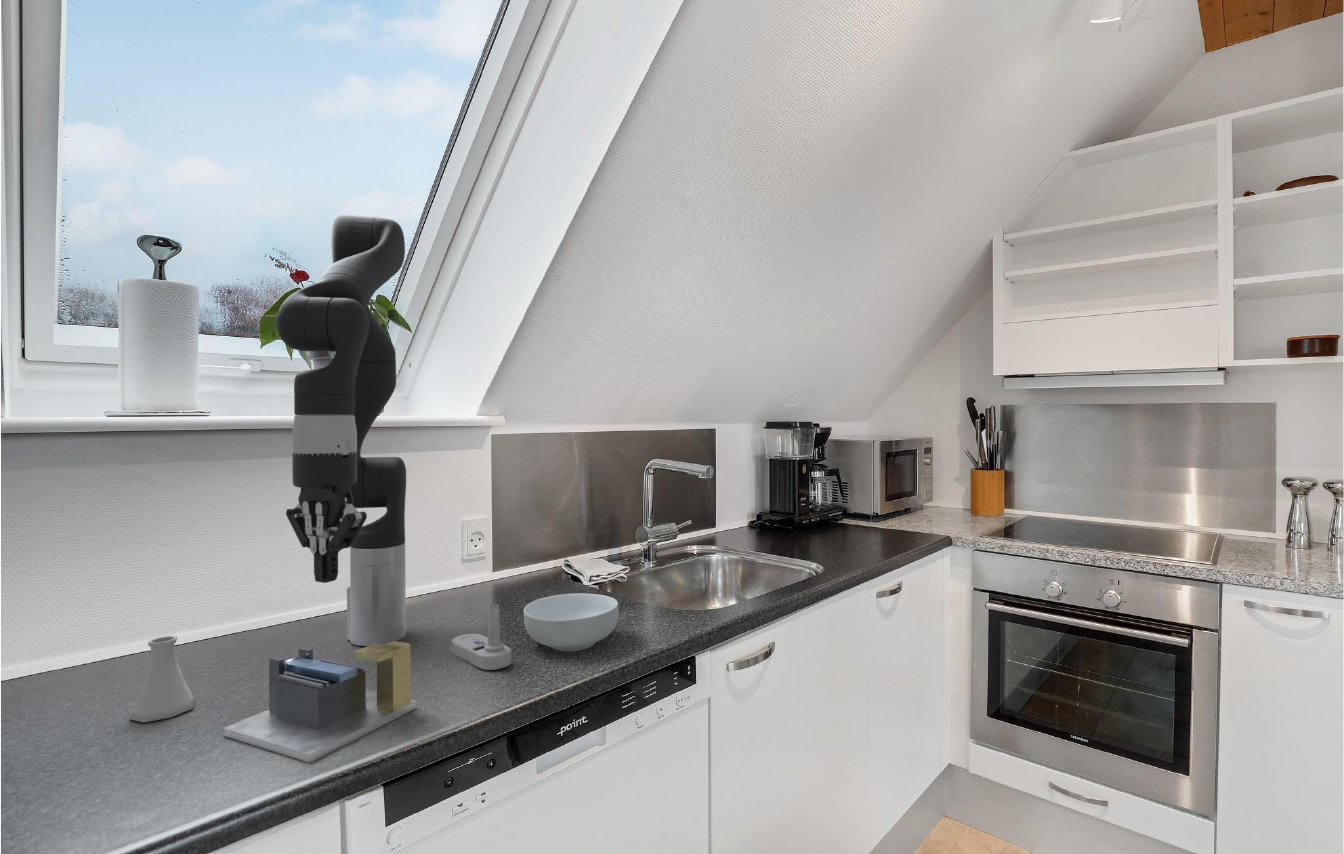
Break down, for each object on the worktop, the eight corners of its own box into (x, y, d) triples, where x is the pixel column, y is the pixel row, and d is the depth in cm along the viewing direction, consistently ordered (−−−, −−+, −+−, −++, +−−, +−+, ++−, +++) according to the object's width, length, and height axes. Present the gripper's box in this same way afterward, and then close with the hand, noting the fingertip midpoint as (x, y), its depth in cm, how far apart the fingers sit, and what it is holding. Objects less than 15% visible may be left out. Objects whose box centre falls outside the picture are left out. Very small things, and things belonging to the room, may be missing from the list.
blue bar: (278, 672, 88) (278, 661, 88) (297, 664, 90) (297, 654, 90) (338, 684, 83) (338, 673, 83) (357, 676, 85) (357, 665, 85)
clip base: (223, 735, 82) (223, 672, 82) (336, 688, 97) (335, 634, 96) (309, 762, 75) (309, 693, 75) (416, 707, 90) (416, 650, 90)
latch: (354, 713, 86) (353, 651, 86) (386, 697, 91) (386, 639, 91) (378, 719, 84) (378, 656, 84) (410, 703, 89) (410, 643, 89)
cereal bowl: (556, 625, 127) (556, 589, 127) (634, 634, 121) (633, 596, 121) (503, 653, 111) (503, 612, 111) (589, 666, 105) (589, 623, 105)
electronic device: (474, 591, 117) (516, 605, 106) (475, 646, 116) (517, 666, 105) (445, 597, 113) (485, 612, 102) (446, 653, 113) (487, 675, 102)
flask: (187, 696, 94) (186, 627, 94) (203, 709, 90) (202, 637, 90) (122, 713, 89) (122, 640, 89) (136, 729, 84) (135, 652, 84)
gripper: (264, 450, 85) (265, 582, 85) (334, 452, 79) (335, 593, 80) (316, 447, 92) (317, 570, 92) (385, 449, 86) (385, 579, 86)
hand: (326, 580), depth 86 cm, fingers closed
